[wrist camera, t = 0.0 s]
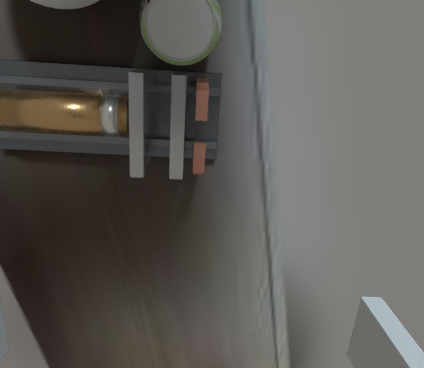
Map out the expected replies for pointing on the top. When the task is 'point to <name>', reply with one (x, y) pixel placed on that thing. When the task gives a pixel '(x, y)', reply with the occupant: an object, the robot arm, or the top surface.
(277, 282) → the top surface
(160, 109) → the grey open frame rack
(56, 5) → the decorative ball
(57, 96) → the copper tube
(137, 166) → the collar
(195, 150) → the aperture bridge
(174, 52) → the beverage can
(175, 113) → the collar
